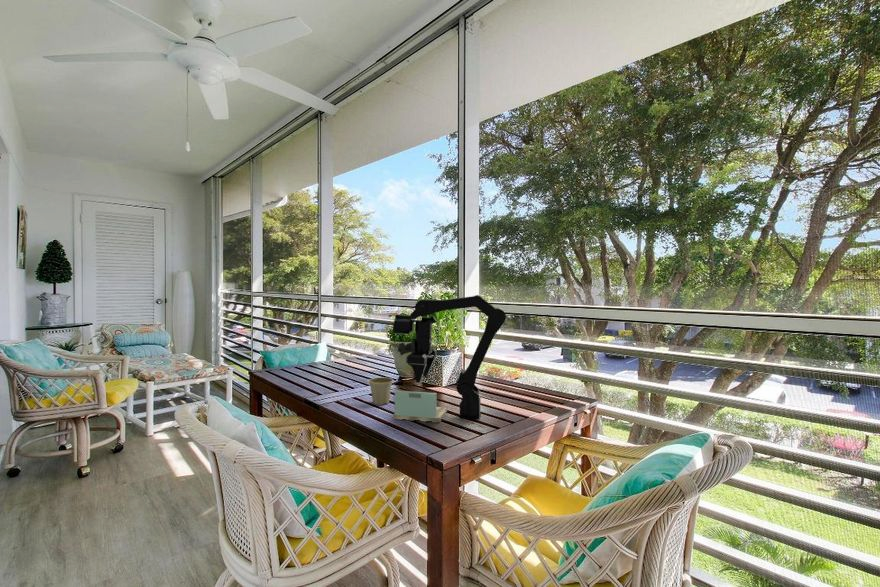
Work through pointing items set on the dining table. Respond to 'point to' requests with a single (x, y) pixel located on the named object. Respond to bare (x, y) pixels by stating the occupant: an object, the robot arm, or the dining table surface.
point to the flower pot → (380, 390)
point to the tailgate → (416, 404)
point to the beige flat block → (440, 414)
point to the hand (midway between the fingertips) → (421, 379)
